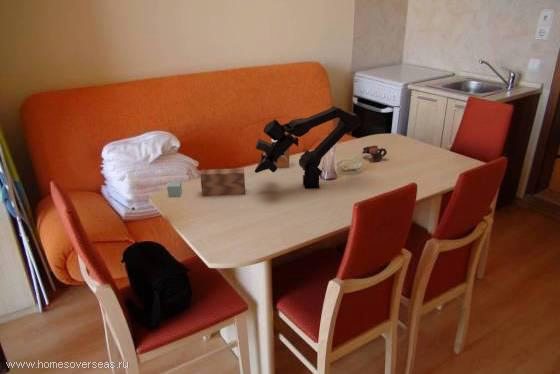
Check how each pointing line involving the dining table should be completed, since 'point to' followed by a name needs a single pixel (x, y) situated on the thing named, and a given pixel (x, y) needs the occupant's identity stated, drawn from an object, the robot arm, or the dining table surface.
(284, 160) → the small box
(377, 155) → the pottery mug
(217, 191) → the brown patterned block
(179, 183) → the teal cube
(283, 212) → the dining table surface
